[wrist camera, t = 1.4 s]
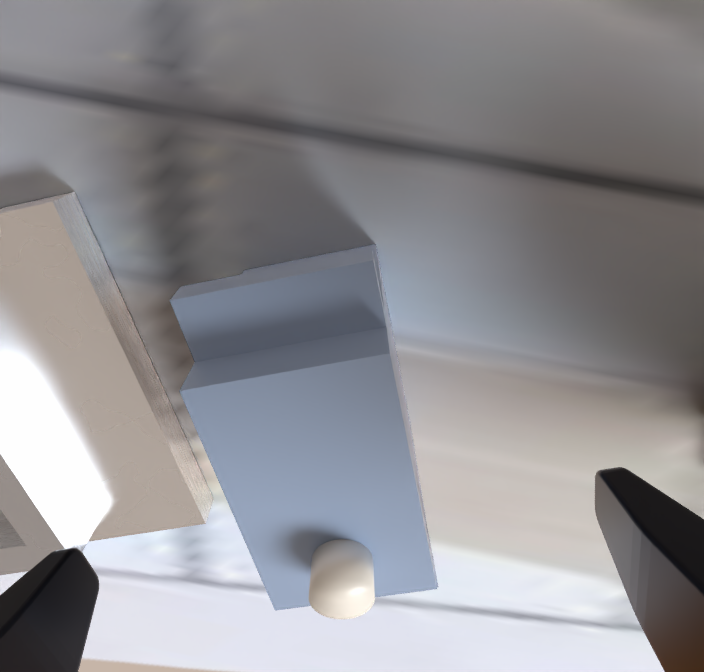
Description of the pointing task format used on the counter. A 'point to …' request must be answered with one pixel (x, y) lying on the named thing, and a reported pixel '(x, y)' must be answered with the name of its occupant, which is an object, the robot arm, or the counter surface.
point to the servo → (310, 428)
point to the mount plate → (79, 399)
